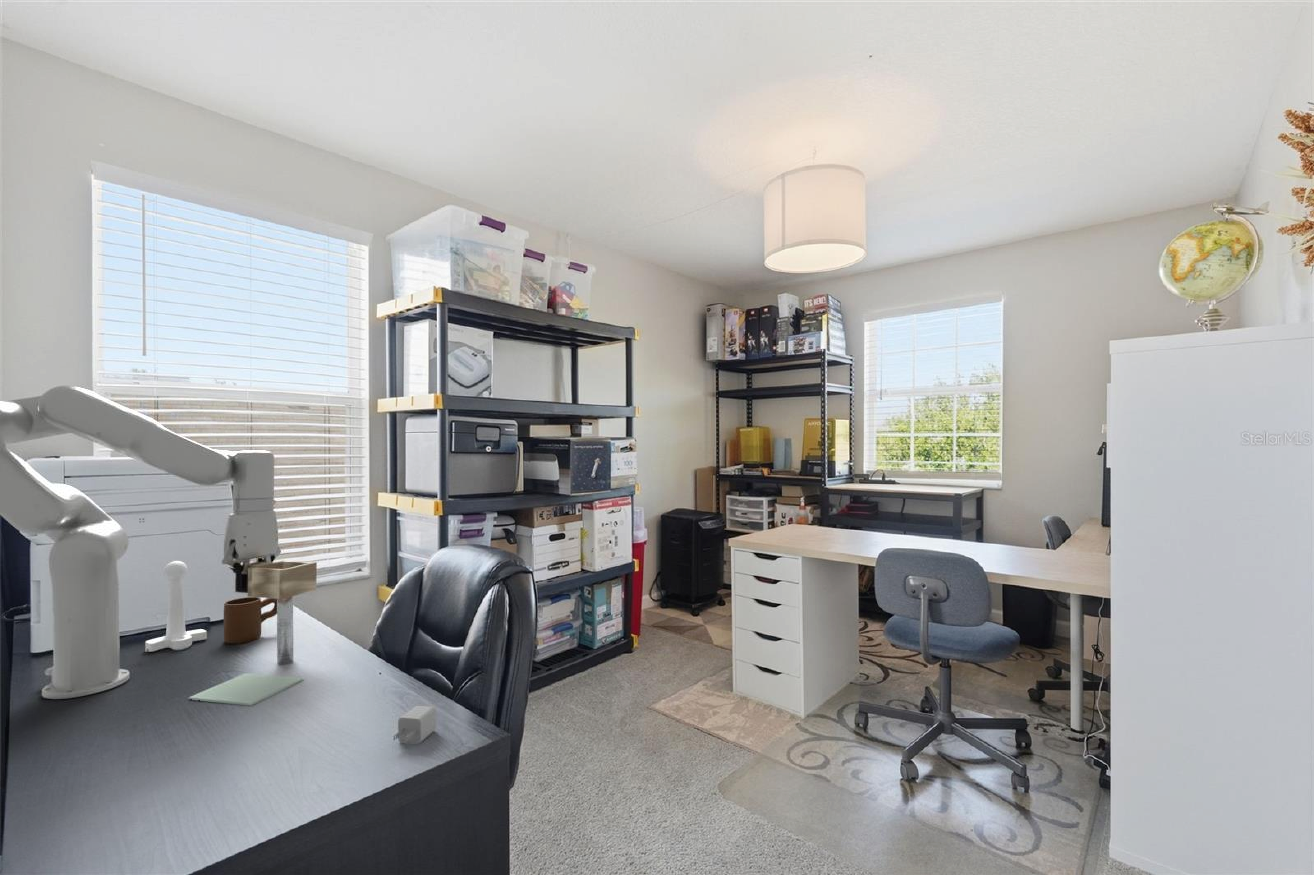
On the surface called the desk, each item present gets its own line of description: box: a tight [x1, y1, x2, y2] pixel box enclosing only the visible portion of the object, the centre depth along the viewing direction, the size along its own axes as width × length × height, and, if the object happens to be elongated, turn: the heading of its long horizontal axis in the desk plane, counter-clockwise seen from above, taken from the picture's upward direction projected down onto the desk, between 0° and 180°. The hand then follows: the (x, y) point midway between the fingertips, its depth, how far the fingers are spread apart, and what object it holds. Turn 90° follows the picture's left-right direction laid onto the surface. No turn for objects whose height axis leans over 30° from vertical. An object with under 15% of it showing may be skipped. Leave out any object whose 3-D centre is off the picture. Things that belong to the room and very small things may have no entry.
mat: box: [188, 672, 304, 707], centre depth 117 cm, size 14×12×1 cm
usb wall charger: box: [393, 705, 437, 745], centre depth 96 cm, size 4×7×4 cm, turn 170°
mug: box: [223, 596, 277, 645], centre depth 149 cm, size 12×8×9 cm, turn 134°
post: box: [276, 596, 295, 665], centre depth 132 cm, size 3×3×18 cm
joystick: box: [144, 560, 208, 653], centre depth 143 cm, size 11×8×20 cm
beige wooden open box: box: [234, 560, 318, 599], centre depth 132 cm, size 15×9×6 cm, turn 77°
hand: (252, 588), depth 133 cm, fingers closed on beige wooden open box, 4 cm apart
